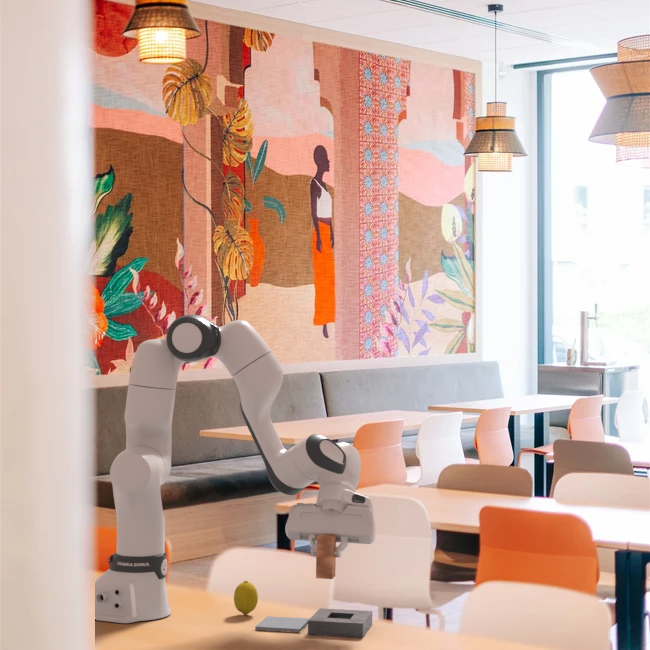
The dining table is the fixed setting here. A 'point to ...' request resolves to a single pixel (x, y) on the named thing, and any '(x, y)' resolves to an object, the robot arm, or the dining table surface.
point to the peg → (325, 556)
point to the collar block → (340, 622)
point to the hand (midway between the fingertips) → (325, 555)
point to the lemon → (245, 597)
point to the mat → (282, 624)
